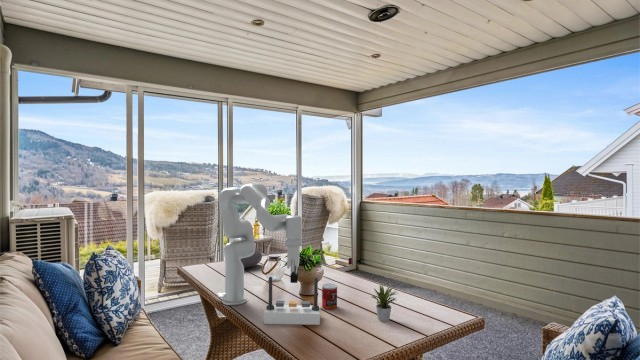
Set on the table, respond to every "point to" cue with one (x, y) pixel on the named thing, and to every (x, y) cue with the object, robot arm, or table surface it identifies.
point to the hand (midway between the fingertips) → (294, 282)
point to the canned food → (329, 296)
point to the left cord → (270, 296)
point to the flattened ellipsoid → (252, 259)
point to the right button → (305, 303)
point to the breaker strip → (292, 315)
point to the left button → (279, 303)
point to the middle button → (292, 303)
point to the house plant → (384, 303)
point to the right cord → (315, 295)
